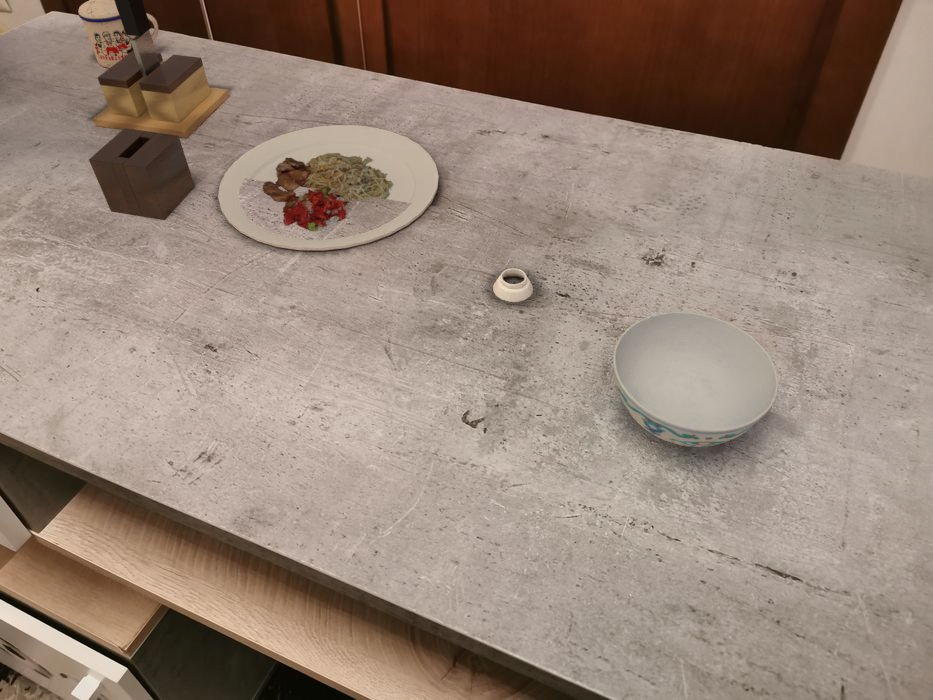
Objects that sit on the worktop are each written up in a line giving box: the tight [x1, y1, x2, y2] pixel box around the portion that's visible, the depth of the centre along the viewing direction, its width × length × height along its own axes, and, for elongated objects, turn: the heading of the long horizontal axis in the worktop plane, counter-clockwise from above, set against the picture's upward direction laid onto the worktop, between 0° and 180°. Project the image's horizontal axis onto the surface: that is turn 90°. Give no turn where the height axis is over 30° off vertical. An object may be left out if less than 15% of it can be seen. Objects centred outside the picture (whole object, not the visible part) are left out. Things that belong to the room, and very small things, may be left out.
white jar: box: [492, 267, 534, 303], centre depth 85 cm, size 5×3×5 cm
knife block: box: [88, 128, 196, 221], centre depth 96 cm, size 8×8×9 cm
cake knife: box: [114, 0, 160, 79], centre depth 110 cm, size 2×4×20 cm, turn 166°
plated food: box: [217, 124, 439, 251], centre depth 100 cm, size 30×30×3 cm
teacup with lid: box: [77, 0, 159, 69], centre depth 127 cm, size 12×9×12 cm
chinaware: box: [612, 311, 779, 448], centre depth 71 cm, size 15×15×8 cm
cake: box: [92, 50, 230, 139], centre depth 115 cm, size 16×14×7 cm
